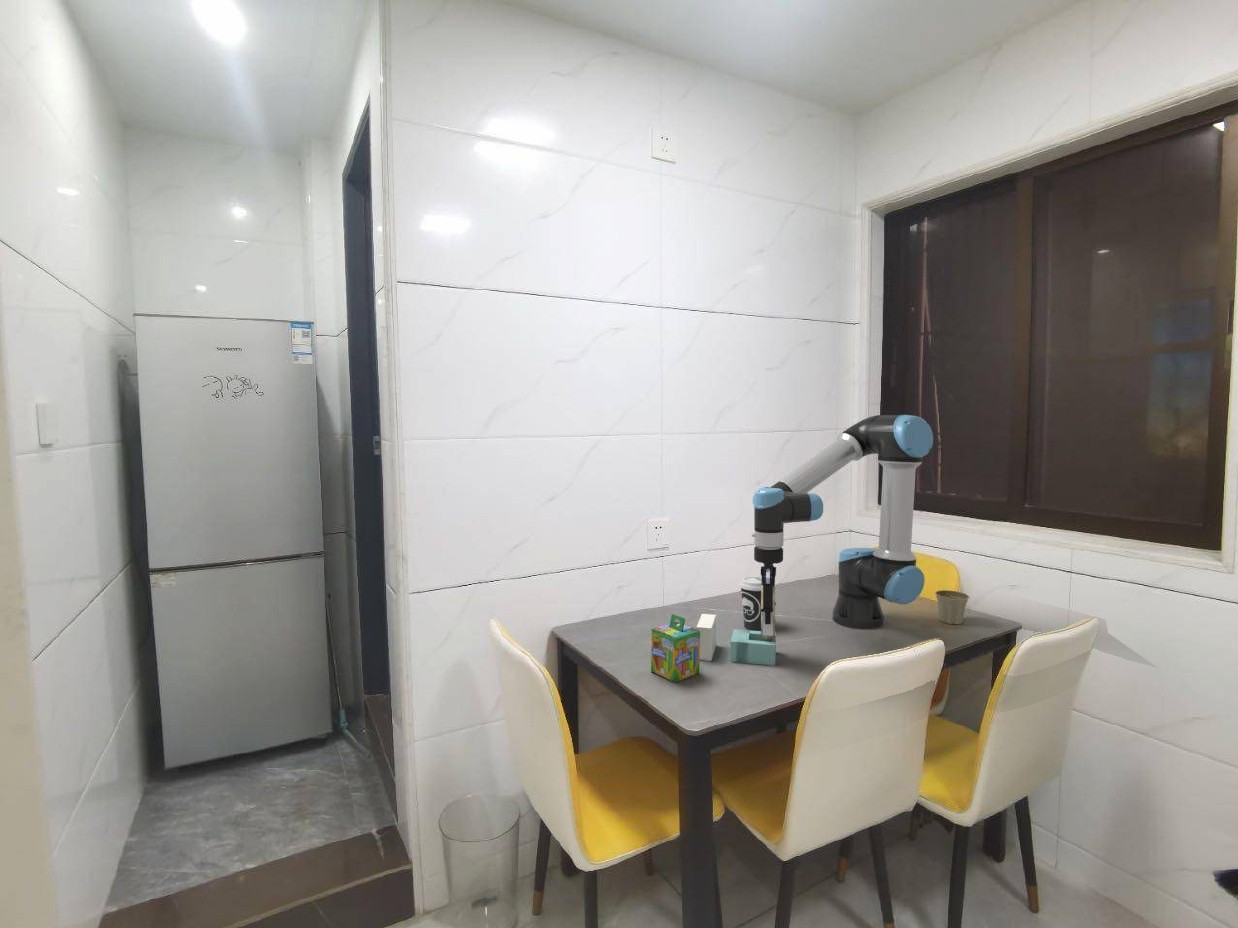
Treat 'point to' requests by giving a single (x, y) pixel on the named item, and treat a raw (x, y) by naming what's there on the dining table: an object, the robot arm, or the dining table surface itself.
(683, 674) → the chalk box
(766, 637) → the dowel
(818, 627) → the dining table surface
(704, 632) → the wall
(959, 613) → the flower pot
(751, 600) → the coffee cup
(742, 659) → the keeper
